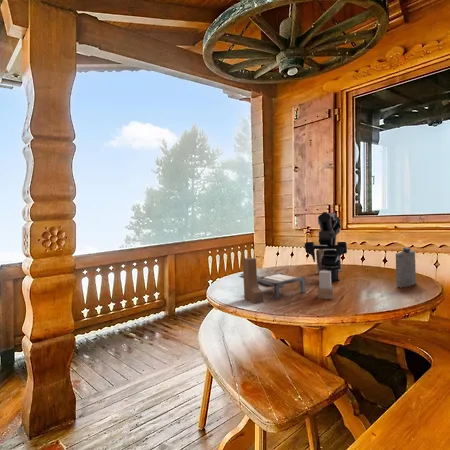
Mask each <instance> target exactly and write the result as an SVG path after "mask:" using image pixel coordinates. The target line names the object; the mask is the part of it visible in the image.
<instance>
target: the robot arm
mask: <svg viewBox="0 0 450 450" xmlns="http://www.w3.org/2000/svg"><path fill="white" fill-rule="evenodd" d="M317 219H318V220H317V223H318V225H319V229H320V231H318V244H315V243H314V241H306V242H305V243H304V249H305V253H307V254H308V255H310V256H311V257H312V260H313V263H316V250H318V249H321V250H327V251H324V254H323V258H322V269H324V271H331V282H339V281H341V279H340V278H339V272H338V269H341V266H342V263H341V264H340V260H341V259H340V260H339V257H340V258H341V256H342V255H344V254H347V253H348V245H347V242H346V241H337V235H338V234H339V233H340V230H341V229H342V222H341V218H340V217H338V216H337V213H336V212H330V213H329V212H327V211H324V212H322V213H321V214H319V215H318V217H317ZM335 250H336V251H335ZM336 266H338V267H336Z"/></svg>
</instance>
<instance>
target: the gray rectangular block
mask: <svg viewBox="0 0 450 450" xmlns="http://www.w3.org/2000/svg"><path fill="white" fill-rule="evenodd" d="M318 277H319V278H318V279H319V280H318V282H319V283H318V284H319V286H320V289H331V286H332V281H331V271H320V272H319V273H318Z"/></svg>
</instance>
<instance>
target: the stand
mask: <svg viewBox="0 0 450 450" xmlns="http://www.w3.org/2000/svg"><path fill="white" fill-rule="evenodd" d="M334 290H335V289H334V285H333V286H332V285H331V289H320V285H318V287H317V299H325V300H333V299H334V295H335V293H334V292H335V291H334Z"/></svg>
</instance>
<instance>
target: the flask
mask: <svg viewBox="0 0 450 450" xmlns="http://www.w3.org/2000/svg"><path fill="white" fill-rule="evenodd" d="M411 249H412V248H411V247H402V250H403V251H400V252H396V253H395V278H396V281H395V282H396V283H395V284H396V288H397V287H405V288H408V287H407V286H409V287H412V286H414V285H416V284H417V279H416V277H417V275H416V272H417V271H416V251H415V250H411ZM411 285H412V286H411Z"/></svg>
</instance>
